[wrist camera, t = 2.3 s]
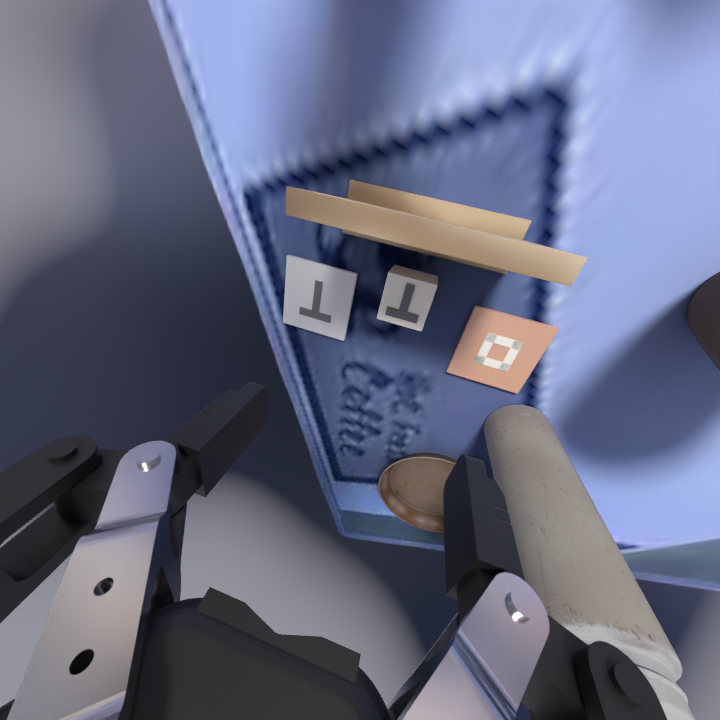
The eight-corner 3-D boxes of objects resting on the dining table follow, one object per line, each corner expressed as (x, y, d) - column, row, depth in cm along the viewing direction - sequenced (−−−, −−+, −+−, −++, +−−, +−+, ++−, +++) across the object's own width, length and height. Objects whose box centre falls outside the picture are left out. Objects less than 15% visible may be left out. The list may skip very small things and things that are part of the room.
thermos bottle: (540, 454, 37) (723, 876, 13) (478, 445, 39) (543, 802, 15) (557, 408, 34) (852, 876, 10) (488, 401, 36) (594, 778, 12)
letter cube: (394, 264, 31) (387, 272, 26) (437, 275, 30) (437, 285, 26) (383, 306, 33) (375, 320, 29) (423, 317, 33) (420, 333, 28)
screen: (352, 180, 28) (288, 152, 16) (529, 220, 26) (608, 223, 14) (344, 232, 30) (283, 242, 18) (504, 272, 28) (554, 313, 16)
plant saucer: (381, 505, 52) (378, 520, 49) (381, 435, 44) (377, 449, 41) (479, 526, 48) (482, 544, 45) (500, 453, 39) (504, 470, 37)
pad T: (289, 254, 33) (286, 255, 33) (358, 273, 32) (356, 274, 32) (285, 321, 38) (282, 322, 37) (345, 339, 37) (343, 341, 36)
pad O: (474, 304, 31) (475, 306, 30) (556, 327, 30) (559, 329, 29) (446, 369, 35) (446, 372, 34) (516, 391, 34) (517, 394, 33)
